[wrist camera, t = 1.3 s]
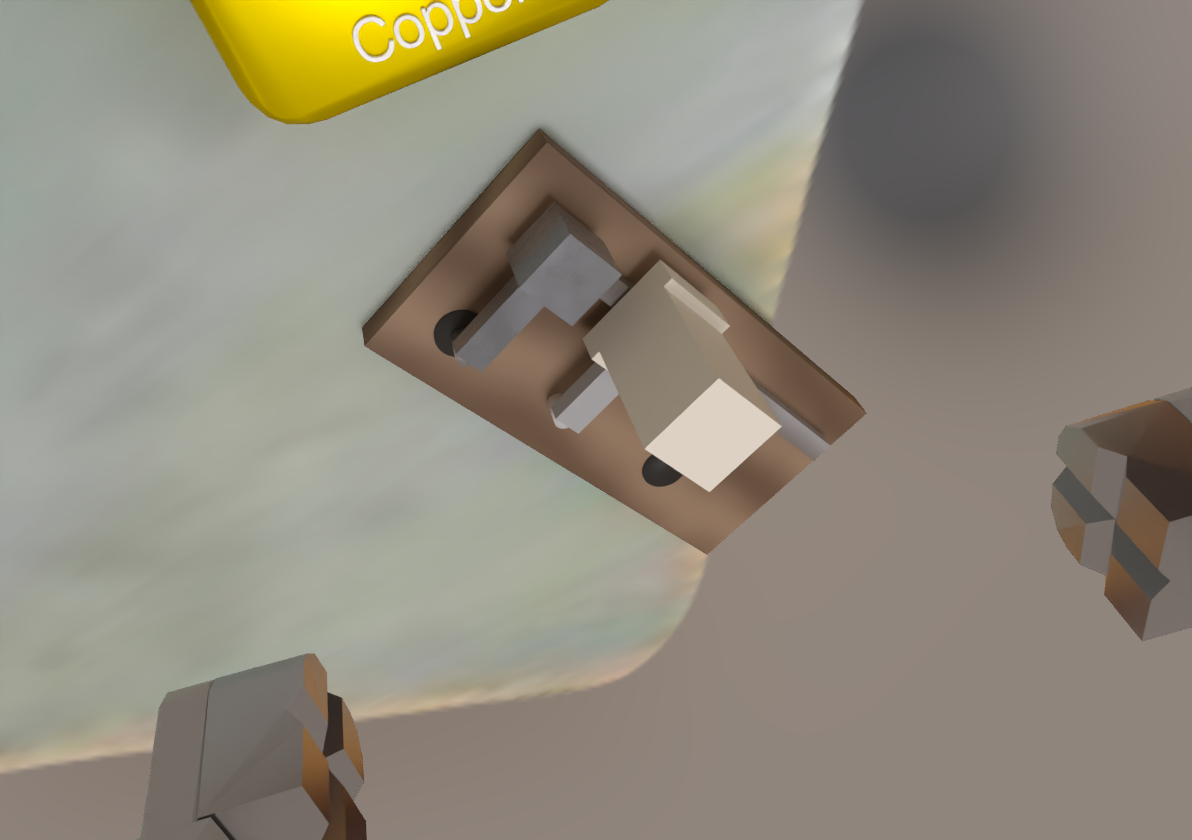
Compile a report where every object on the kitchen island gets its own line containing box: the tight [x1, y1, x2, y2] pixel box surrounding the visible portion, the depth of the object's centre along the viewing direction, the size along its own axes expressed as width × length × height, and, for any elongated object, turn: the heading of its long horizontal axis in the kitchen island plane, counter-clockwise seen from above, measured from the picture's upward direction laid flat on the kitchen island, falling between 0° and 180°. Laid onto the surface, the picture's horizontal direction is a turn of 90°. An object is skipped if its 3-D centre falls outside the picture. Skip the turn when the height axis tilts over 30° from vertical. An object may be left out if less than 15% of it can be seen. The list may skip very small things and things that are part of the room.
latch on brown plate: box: [362, 129, 866, 554], centre depth 51 cm, size 12×24×2 cm, turn 45°
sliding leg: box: [548, 260, 782, 492], centre depth 45 cm, size 9×4×10 cm, turn 135°
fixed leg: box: [451, 201, 622, 371], centre depth 44 cm, size 8×3×4 cm, turn 135°
